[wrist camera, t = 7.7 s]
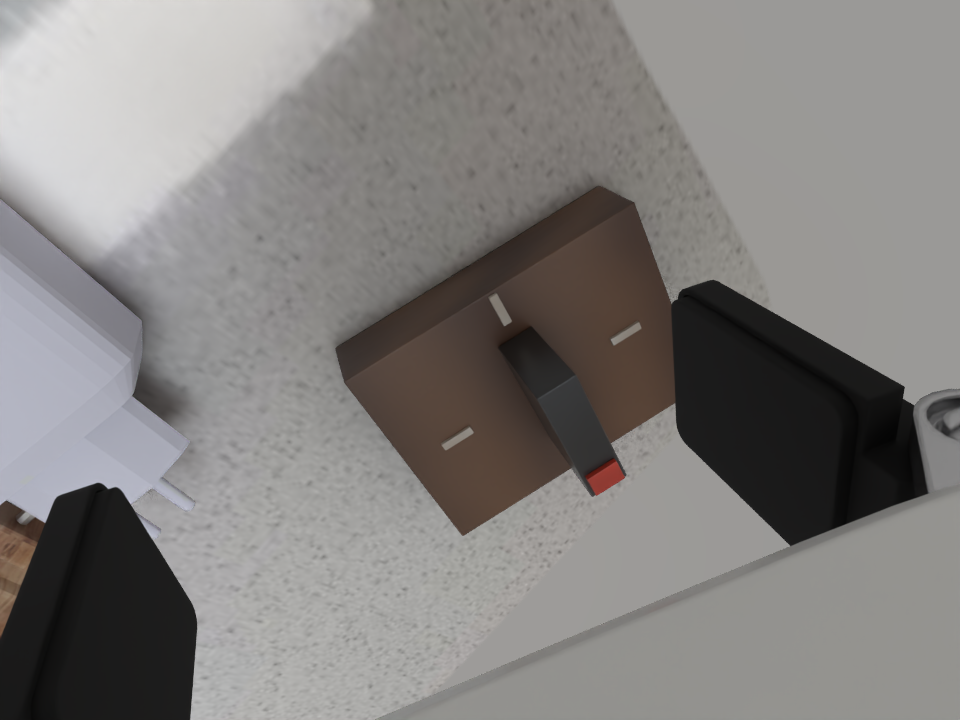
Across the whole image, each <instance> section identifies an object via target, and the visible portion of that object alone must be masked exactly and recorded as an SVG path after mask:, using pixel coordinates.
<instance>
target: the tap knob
mask: <svg viewBox="0 0 960 720" xmlns="http://www.w3.org/2000/svg"><path fill="white" fill-rule="evenodd" d="M498 349H499V350H500V352H501V354H502V356H503V357H504V359H505V361H506V362H507V364H508V366H509V368H510V369H511V371H512V373H513V375H514V376H515V378H516V380H517V382H518V383H519V385H520V387H521V389H522V390H523V392H524V394H525V396H526V397H527V399H528V401H529V402H530V404H531V406H532V408H533V409H534V411H535V413H536V415H537V416H538V418H539V420H540V422H541V423H542V425H543V427H544V429H545V430H546V432H547V434H548V436H549V437H550V439H551V440H552V442H553V443H554V445H555V446H556V447H557V449H558V450H559V452H560V453H561V454H562V456H563V457H564V459H565V460H566V461H567V463H568V464H569V466H570V467H571V468H572V470H573V471H574V473H575V474H576V475H577V477H578V478H579V480H580V481H581V482H582V484H583V485H584V487H585V488H586V489H587V491H588V492H589V494H590V495H591V496H592V497H593V496H595V495H596V496H597V495H599V494H600V493H602V492H604V491H605V490H607V489H608V488H610V487H611V486H613V485H615V484H616V483H618V482H619V481H621V480H623V479H624V478H625V476H626V473H625V471H624V469H623V467H622V465H621V463H620V461H619V459H618V457H617V455H616V453H615V451H614V449H613V447H612V445H611V443H610V441H609V439H608V437H607V435H606V433H605V431H604V429H603V427H602V425H601V423H600V421H599V419H598V417H597V415H596V413H595V411H594V409H593V407H592V405H591V403H590V401H589V399H588V397H587V395H586V393H585V392H584V390H583V388H582V386H581V384H580V382H579V380H578V378H577V376H576V374H575V373H574V372H573V371H572V370H571V369H570V368H569V367H568V365H567V364H566V363H565V362H564V361H563V360H562V359H561V358H560V357H559V356H558V354H557V353H556V352H555V351H554V350H553V349H552V348H551V347H550V346H549V345H548V343H547V342H546V341H545V340H544V339H543V338H542V337H541V336H540V335H539V334H538V333H537V331H536V330H535V329H534V328H533V327H530V328H528V329H527V330H525V331H523V332H522V333H520V334H519V335H517V336H515V337H514V338H512V339H511V340H509V341H507V342H506V343H504V344H503V345H501V346H499V347H498Z"/></svg>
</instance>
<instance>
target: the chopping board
mask: <svg viewBox="0 0 960 720" xmlns="http://www.w3.org/2000/svg"><path fill="white" fill-rule="evenodd" d="M44 525H45V523H44V522H43V521H41V520H39V519H38V518H36V517H34V516H33V515H31V514H29V513H28V512H26V511H24V510H22V509H20V508H18V507H16V506H14V505H13V504H11V503H9V502H7V501H5V502H3V503H2V504H1V505H0V638H1V635H2V633H3V630H4V628H5V625H6V622H7V620H8V617H9V615H10V612H11V610H12V607H13V605H14V602H15V599H16V597H17V594H18V592H19V589H20V587H21V584H22V582H23V579H24V576H25V574H26V571H27V569H28V566H29V564H30V561H31V558H32V556H33V553H34V551H35V548H36V546H37V543H38V541H39V538H40V535H41V533H42V530H43V528H44Z"/></svg>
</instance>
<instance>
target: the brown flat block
mask: <svg viewBox="0 0 960 720" xmlns="http://www.w3.org/2000/svg"><path fill="white" fill-rule="evenodd" d="M671 306H672V305H671V302H670V299H669V296H668V294H667V291H666V288H665V285H664V283H663V280H662V277H661V274H660V272H659V269H658V266H657V264H656V261H655V258H654V255H653V253H652V250H651V247H650V244H649V242H648V239H647V236H646V233H645V231H644V228H643V225H642V223H641V220H640V217H639V214H638V212H637V209H636V206H635V203H634V202H632V201H630V200H628V199H626V198H624V197H622V196H620V195H617V194H615V193H613V192H611V191H609V190H607V189H605V188H603V187H601V186H598V187H596V188H595V189H593V190H591V191H590V192H588V193H586V194H585V195H583V196H582V197H580V198H578V199H577V200H575V201H573V202H572V203H570V204H569V205H567V206H565V207H564V208H562V209H561V210H559V211H557V212H556V213H554V214H552V215H551V216H549V217H548V218H546V219H544V220H543V221H541V222H539V223H538V224H536V225H535V226H533V227H531V228H530V229H528V230H526V231H525V232H523V233H522V234H520V235H518V236H517V237H515V238H513V239H512V240H510V241H509V242H507V243H505V244H504V245H502V246H501V247H499V248H497V249H496V250H494V251H492V252H491V253H489V254H488V255H486V256H484V257H483V258H481V259H479V260H478V261H476V262H475V263H473V264H471V265H470V266H468V267H466V268H465V269H463V270H462V271H460V272H458V273H457V274H455V275H453V276H452V277H450V278H449V279H447V280H445V281H444V282H442V283H441V284H439V285H437V286H436V287H434V288H432V289H431V290H429V291H428V292H426V293H424V294H423V295H421V296H419V297H418V298H416V299H415V300H413V301H411V302H410V303H408V304H406V305H405V306H403V307H402V308H400V309H398V310H397V311H395V312H393V313H392V314H390V315H389V316H387V317H385V318H384V319H382V320H381V321H379V322H377V323H376V324H374V325H372V326H371V327H369V328H368V329H366V330H364V331H363V332H361V333H359V334H358V335H356V336H355V337H353V338H351V339H350V340H348V341H346V342H345V343H343V344H342V345H340V346H338V347H337V348H336V353H337V357H338V361H339V364H340V368H341V372H342V376H343V379H344V383H345V384H346V385H347V387H348V388H349V389H350V391H351V392H352V393H353V394H354V396H355V397H356V398H357V400H358V401H359V402H360V404H361V405H362V406H363V407H364V409H365V410H366V411H367V413H368V414H369V415H370V417H371V418H372V419H373V420H374V422H375V423H376V424H377V426H378V427H379V428H380V429H381V431H382V432H383V433H384V435H385V436H386V437H387V439H388V440H389V441H390V442H391V444H392V445H393V446H394V448H395V449H396V450H397V452H398V453H399V454H400V455H401V457H402V458H403V459H404V461H405V462H406V463H407V465H408V466H409V467H410V468H411V470H412V471H413V472H414V474H415V475H416V476H417V478H418V479H419V480H420V481H421V483H422V484H423V485H424V487H425V488H426V489H427V491H428V492H429V493H430V494H431V496H432V497H433V498H434V500H435V501H436V502H437V503H438V505H439V506H440V507H441V509H442V510H443V511H444V513H445V514H446V515H447V516H448V518H449V519H450V520H451V522H452V523H453V524H454V526H455V527H456V528H457V529H458V531H459V532H460V533H461V535H462V536H464V535H465V534H467V533H469V532H470V531H472V530H473V529H475V528H477V527H478V526H480V525H481V524H483V523H485V522H486V521H488V520H489V519H491V518H493V517H494V516H496V515H497V514H499V513H501V512H502V511H504V510H505V509H507V508H508V507H510V506H512V505H513V504H515V503H516V502H518V501H520V500H521V499H523V498H524V497H526V496H528V495H529V494H531V493H532V492H534V491H536V490H537V489H539V488H540V487H542V486H544V485H545V484H547V483H548V482H550V481H551V480H553V479H555V478H556V477H558V476H559V475H561V474H563V473H564V472H566V471H567V470H569V469H571V467H570V466H569V464H568V463H567V461H566V460H565V459H564V457H563V456H562V454H561V453H560V452H559V450H558V449H557V447H556V446H555V445H554V443H553V442H552V440H551V439H550V437H549V436H548V434H547V432H546V430H545V429H544V427H543V425H542V423H541V422H540V420H539V418H538V416H537V415H536V413H535V411H534V409H533V408H532V406H531V404H530V402H529V401H528V399H527V397H526V396H525V394H524V392H523V390H522V389H521V387H520V385H519V383H518V382H517V380H516V378H515V376H514V375H513V373H512V371H511V369H510V368H509V366H508V364H507V362H506V361H505V359H504V357H503V356H502V354H501V352H500V350H499V349H498V347H499V346H501V345H503V344H504V343H506V342H507V341H509V340H511V339H512V338H514V337H515V336H517V335H519V334H520V333H522V332H523V331H525V330H527V329H528V328H530V327H533V328H534V329H535V330H536V331H537V333H538V334H539V335H540V336H541V337H542V338H543V339H544V340H545V341H546V342H547V343H548V345H549V346H550V347H551V348H552V349H553V350H554V351H555V352H556V353H557V354H558V356H559V357H560V358H561V359H562V360H563V361H564V362H565V363H566V364H567V365H568V367H569V368H570V369H571V370H572V371H573V372H574V373H575V374H576V376H577V378H578V380H579V382H580V384H581V386H582V388H583V390H584V392H585V393H586V395H587V397H588V399H589V401H590V403H591V405H592V407H593V409H594V411H595V413H596V415H597V417H598V419H599V421H600V423H601V425H602V427H603V429H604V431H605V433H606V435H607V437H608V439H609V441H610V443H612V442H614V441H615V440H617V439H618V438H620V437H622V436H623V435H625V434H626V433H628V432H630V431H631V430H633V429H634V428H636V427H638V426H639V425H641V424H642V423H644V422H645V421H647V420H649V419H650V418H652V417H653V416H655V415H657V414H658V413H660V412H661V411H663V410H665V409H666V408H668V407H669V406H671V405H673V404H674V403H675V382H674V360H673V339H672V317H671Z"/></svg>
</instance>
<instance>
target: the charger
mask: <svg viewBox="0 0 960 720" xmlns="http://www.w3.org/2000/svg"><path fill="white" fill-rule="evenodd" d="M141 359H142V320H141V319H139V318H138V317H137V316H136V315H135V314H134V313H132V312H131V311H130V310H129V309H128V308H127V307H125V306H124V305H123V304H122V303H121V302H120V301H118V300H117V299H116V298H115V297H114V296H113V295H111V294H110V293H109V292H108V291H107V290H106V289H105V288H103V287H102V286H101V285H100V284H99V283H98V282H96V281H95V280H94V279H93V278H92V277H91V276H89V275H88V274H87V273H86V272H85V271H84V270H82V269H81V268H80V267H79V266H78V265H77V264H75V263H74V262H73V261H72V260H71V259H70V258H68V257H67V256H66V255H65V254H64V253H63V252H62V251H60V250H59V249H58V248H57V247H56V246H55V245H53V244H52V243H51V242H50V241H49V240H48V239H46V238H45V237H44V236H43V235H42V234H41V233H39V232H38V231H37V230H36V229H35V228H34V227H32V226H31V225H30V224H29V223H28V222H27V221H26V220H24V219H23V218H22V217H21V216H20V215H19V214H17V213H16V212H15V211H14V210H13V209H12V208H10V207H9V206H8V205H7V204H6V203H5V202H3V201H2V200H1V199H0V505H1V504H2V503H3V502H5V501H6V500H8V501H9V502H11V503H13V504H14V505H16V506H18V507H19V508H21V509H23V510H24V511H26V512H28V513H29V514H31V515H33V516H34V517H36V518H38V519H39V520H41V521H43V522H44V523H46V520H47V517H48V515H49V512H50V510H51V507H52V505H53V502H54V500H55V499H56V497H57V496H59V495H62V494H65V493H68V492H71V491H74V490H77V489H80V488H83V487H86V486H89V485H92V484H95V483H102V484H103V485H105V486H106V487H107V488H108V489H110V488H113V487H118V488H119V489H121V490H122V492H123V493H124V494H125V496H126V498H127V499H128V501H129V503H130V504H132V503H133V502H135V501H136V500H137V499H138V498H139V497H141V496H142V495H143V494H144V493H146V492H147V491H148V490H149V489H150V488H153V489H154V490H155V491H157V492H158V493H160V494H161V495H163V496H164V497H165V498H167V499H168V500H170V501H171V502H173V503H174V504H175V505H177V506H178V507H180V508H181V509H183V510H184V511H190V510H192V509H193V508H194V506H195V501H194V500H193V499H191V498H190V497H189V496H187V495H186V494H185V493H183V492H182V491H180V490H179V489H178V488H176V487H175V486H173V485H172V484H171V483H169V482H168V481H166V480H165V479H164V478H162V476H163V475H164V474H165V472H166V471H167V470H168V469H169V468H170V467H171V466H172V465H173V464H174V462H175V461H176V460H177V459H178V458H179V457H180V456H181V455H182V453H183V452H184V450H185V449H186V447H187V446H188V444H189V443H190V441H189V440H188V439H186V438H185V437H184V436H183V435H181V434H180V433H179V432H177V431H176V430H175V429H174V428H172V427H171V426H170V425H168V424H167V423H166V422H165V421H163V420H162V419H161V418H159V417H158V416H157V415H156V414H154V413H153V412H152V411H150V410H149V409H148V408H147V407H145V406H144V405H143V404H141V403H140V402H139V401H138V400H136V399H135V398H134V397H132V395H133V393H134V391H135V386H136V382H137V377H138V373H139V368H140V364H141ZM136 514H137V513H136ZM137 515H138V517H139V519H140V520H141V522H142V524H143V525H144V527H145V528H146V530H147V532H148V533H149V535H150V537H151V538H152V539H156V538H158V536H159V535H160V533H161V529H160V528H159V527H157V526H156V525H154V524H153V523H151V522H150V521H148V520H147V519H145V518H144V517H142V516H141V515H139V514H137Z"/></svg>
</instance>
